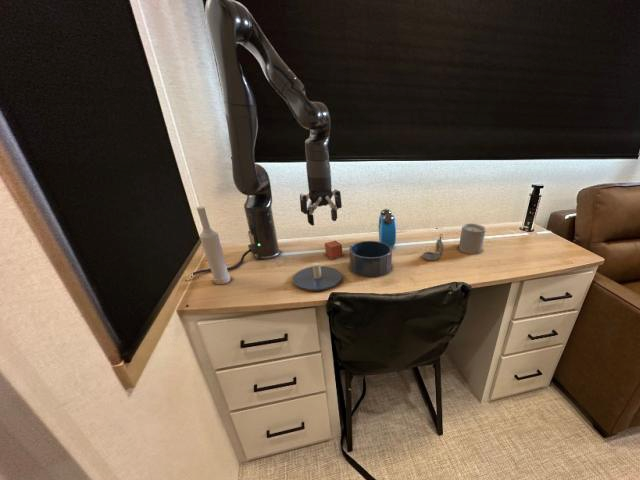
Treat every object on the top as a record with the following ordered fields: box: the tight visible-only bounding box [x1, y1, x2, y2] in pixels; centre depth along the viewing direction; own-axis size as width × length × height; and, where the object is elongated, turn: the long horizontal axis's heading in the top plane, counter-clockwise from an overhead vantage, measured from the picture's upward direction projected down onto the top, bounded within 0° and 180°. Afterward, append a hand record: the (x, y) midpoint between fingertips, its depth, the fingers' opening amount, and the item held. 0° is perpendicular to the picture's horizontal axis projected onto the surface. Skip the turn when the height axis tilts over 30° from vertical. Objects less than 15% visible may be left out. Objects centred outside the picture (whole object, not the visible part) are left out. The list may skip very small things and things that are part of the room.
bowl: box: [348, 240, 393, 278], centre depth 118 cm, size 16×16×8 cm
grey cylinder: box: [458, 223, 487, 255], centre depth 138 cm, size 13×10×10 cm
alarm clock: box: [378, 208, 397, 249], centre depth 134 cm, size 13×6×15 cm, turn 9°
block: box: [324, 240, 343, 260], centre depth 126 cm, size 5×5×5 cm
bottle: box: [196, 206, 231, 285], centre depth 100 cm, size 5×5×25 cm
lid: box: [292, 262, 343, 292], centre depth 109 cm, size 17×17×6 cm
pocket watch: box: [422, 233, 444, 261], centre depth 127 cm, size 8×8×10 cm
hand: (323, 222), depth 111 cm, fingers open, 8 cm apart
